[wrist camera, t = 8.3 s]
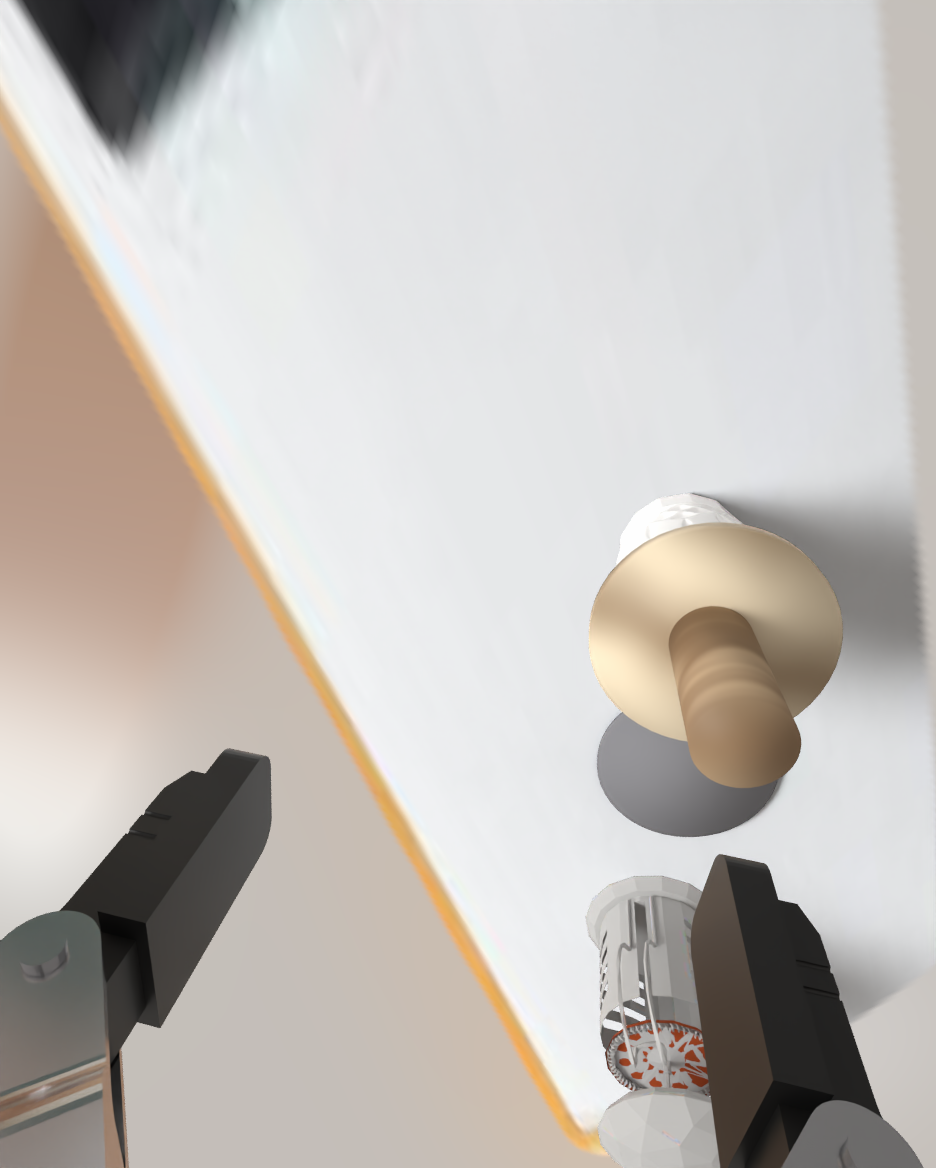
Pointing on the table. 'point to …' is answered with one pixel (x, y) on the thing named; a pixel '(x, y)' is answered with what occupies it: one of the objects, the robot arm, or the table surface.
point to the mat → (668, 784)
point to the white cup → (670, 518)
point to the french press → (653, 1026)
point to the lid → (718, 645)
